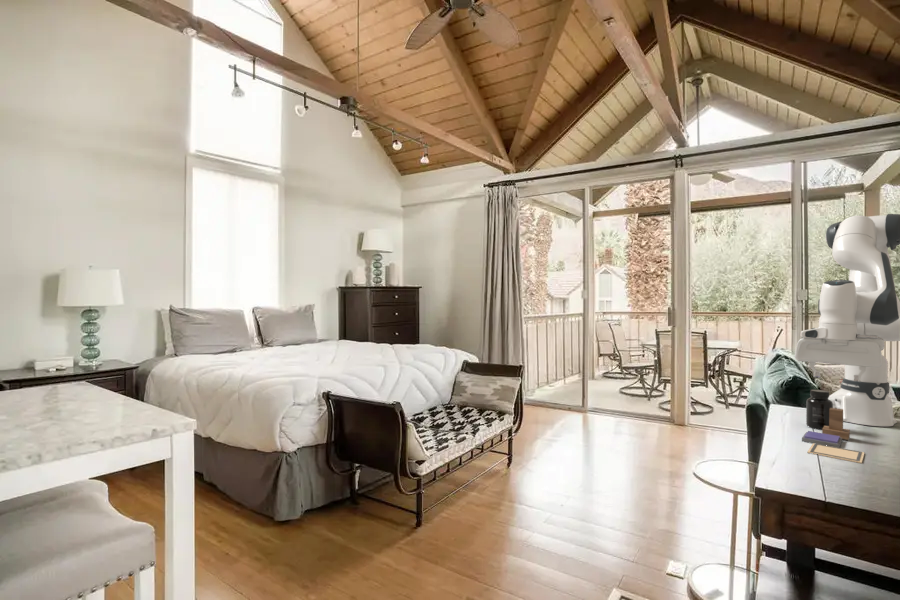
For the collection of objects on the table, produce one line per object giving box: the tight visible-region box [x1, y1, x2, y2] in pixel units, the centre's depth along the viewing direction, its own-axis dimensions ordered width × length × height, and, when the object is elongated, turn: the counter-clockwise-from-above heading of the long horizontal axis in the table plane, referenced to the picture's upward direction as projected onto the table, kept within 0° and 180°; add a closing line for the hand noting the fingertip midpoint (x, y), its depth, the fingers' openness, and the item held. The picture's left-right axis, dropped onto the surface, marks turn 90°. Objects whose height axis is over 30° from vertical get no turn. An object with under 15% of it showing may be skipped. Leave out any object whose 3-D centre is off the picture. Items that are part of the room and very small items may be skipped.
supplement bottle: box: [805, 389, 833, 431], centre depth 151 cm, size 7×7×12 cm
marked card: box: [807, 443, 865, 464], centre depth 125 cm, size 11×11×1 cm
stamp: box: [821, 408, 851, 443], centre depth 140 cm, size 5×6×9 cm
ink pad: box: [801, 430, 843, 448], centre depth 136 cm, size 9×8×2 cm
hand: (836, 379), depth 140 cm, fingers open, 8 cm apart
